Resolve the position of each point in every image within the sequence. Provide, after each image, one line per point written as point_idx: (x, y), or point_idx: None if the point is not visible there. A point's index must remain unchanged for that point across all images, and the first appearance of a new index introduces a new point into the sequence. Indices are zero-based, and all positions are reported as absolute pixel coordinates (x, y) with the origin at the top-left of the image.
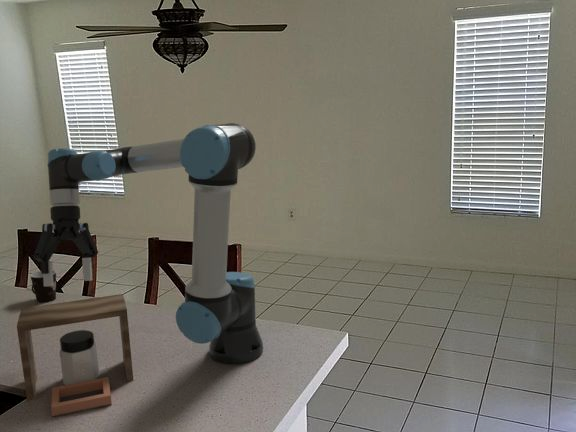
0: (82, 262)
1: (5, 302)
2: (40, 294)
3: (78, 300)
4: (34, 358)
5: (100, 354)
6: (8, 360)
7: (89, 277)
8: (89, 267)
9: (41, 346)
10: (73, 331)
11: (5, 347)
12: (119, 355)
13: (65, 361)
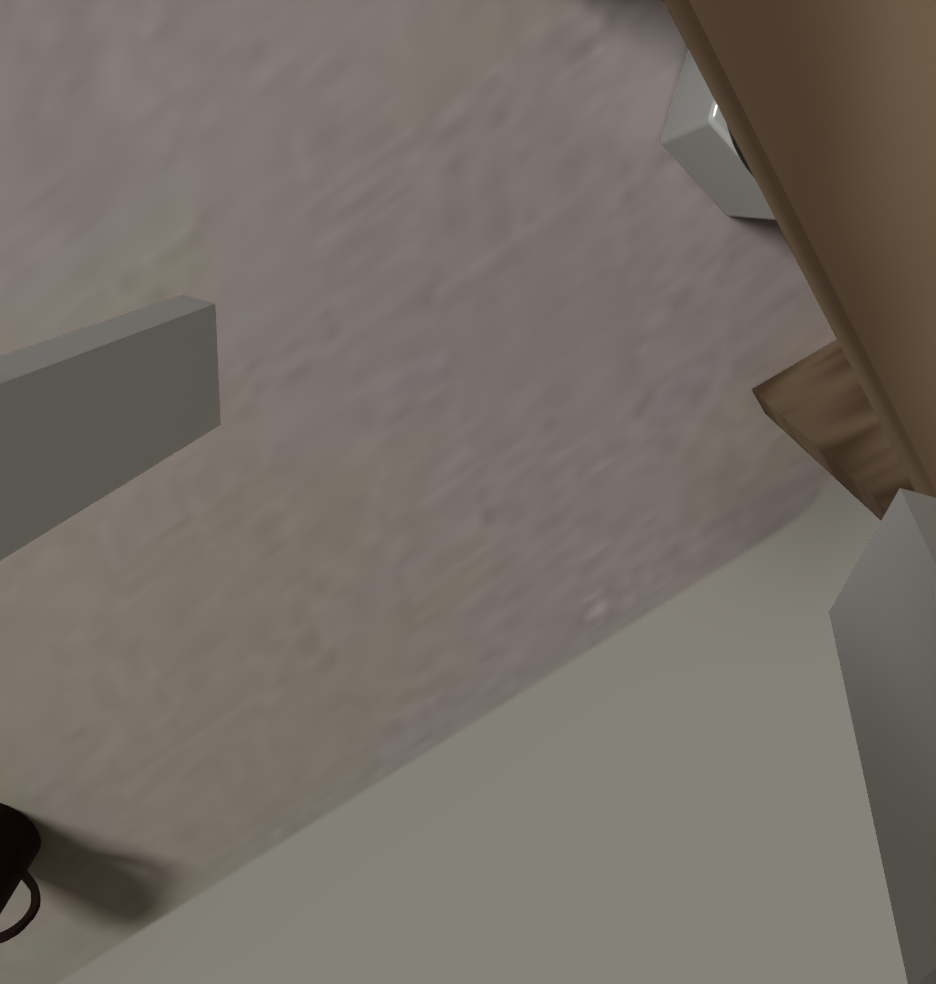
0: (13, 550)
1: (102, 950)
2: (10, 868)
3: (763, 122)
4: (792, 419)
5: (450, 190)
6: (596, 628)
7: (185, 332)
8: (64, 368)
9: (434, 572)
10: None
11: (479, 714)
12: (437, 46)
13: None
